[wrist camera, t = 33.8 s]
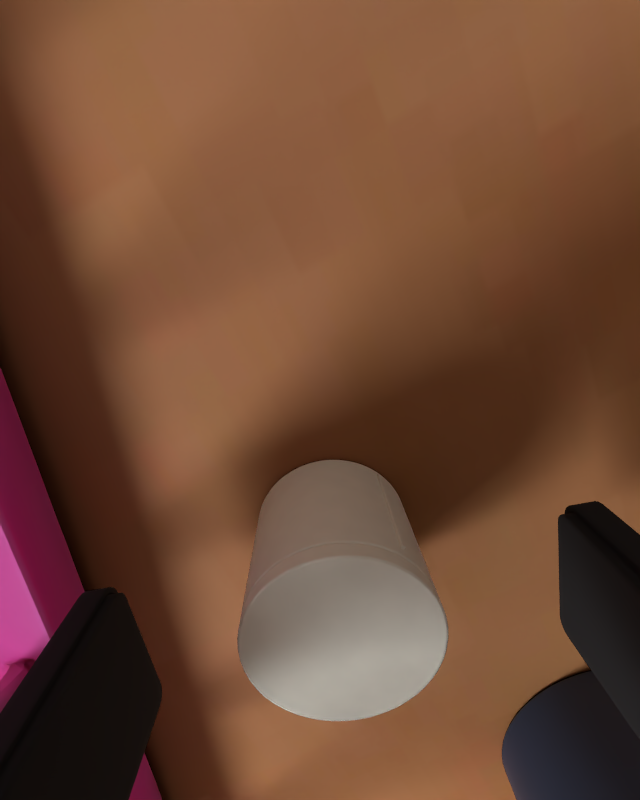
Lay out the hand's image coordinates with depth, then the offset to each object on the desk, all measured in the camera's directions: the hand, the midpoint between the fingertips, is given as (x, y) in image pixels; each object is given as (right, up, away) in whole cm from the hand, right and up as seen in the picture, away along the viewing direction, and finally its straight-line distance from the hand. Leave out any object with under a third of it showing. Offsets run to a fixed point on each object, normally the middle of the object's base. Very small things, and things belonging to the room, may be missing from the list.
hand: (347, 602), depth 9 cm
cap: (0, +1, +2) cm, 3 cm away
